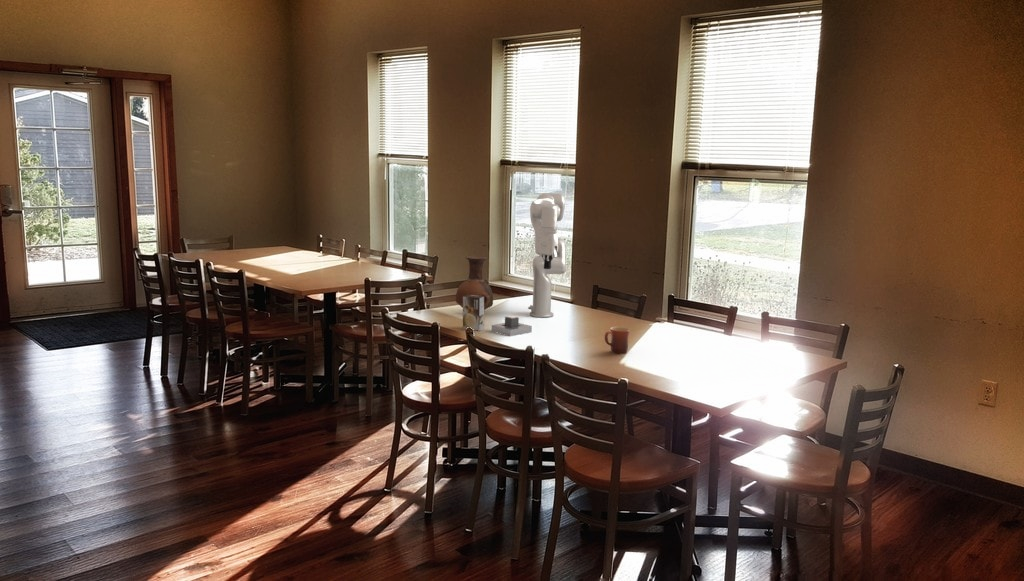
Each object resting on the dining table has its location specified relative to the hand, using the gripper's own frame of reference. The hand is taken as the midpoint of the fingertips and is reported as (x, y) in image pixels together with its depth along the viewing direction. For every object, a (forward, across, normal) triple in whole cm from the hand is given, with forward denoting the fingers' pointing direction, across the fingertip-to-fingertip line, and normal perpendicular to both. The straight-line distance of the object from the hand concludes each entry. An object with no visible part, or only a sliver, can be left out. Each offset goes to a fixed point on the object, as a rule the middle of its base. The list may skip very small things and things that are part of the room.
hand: (547, 268), depth 383 cm
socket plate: (+29, -4, -20) cm, 35 cm away
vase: (+29, -46, -6) cm, 55 cm away
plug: (+29, -4, -20) cm, 35 cm away
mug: (+29, +53, -11) cm, 62 cm away
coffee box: (+29, -19, -30) cm, 46 cm away
